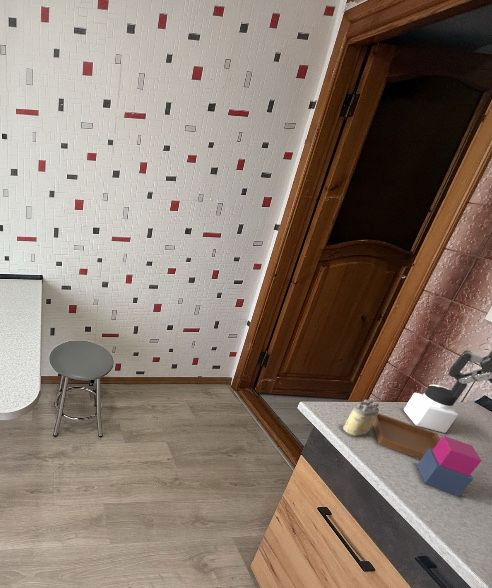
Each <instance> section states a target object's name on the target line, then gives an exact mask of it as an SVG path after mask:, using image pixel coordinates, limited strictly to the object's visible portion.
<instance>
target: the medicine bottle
mask: <svg viewBox="0 0 492 588" xmlns="http://www.w3.org/2000/svg"><path fill="white" fill-rule="evenodd" d="M451 390H452V389H450V388H448V387H445V386H443V385H439V384H435V383H434V384H429V385H428V386H427V388H426V389H425V391H424V393H418V392H414V393H413V394H412V395H411V397H410V398H409V400H408V401H407V403H406V405H405V406H404V408H403V411H404V412H405V414H406V415H407V416H408V418H409V419H410V420H411V421H412V423H413V424H414V426H417V427H420V428H423V429H426V430H430V431H431V430H432V431H434V432H439V433H443V434H445V433H447V432H448V430H449V429H450V428H451V426H452V425H453V423H454V422H455V420H456V419H457V418H458V416H459V413H457V411H455V410H454V409H453V406H454V405H455V403H456V402H457V400H458V399H457V398H454V397H453V394H451Z"/></svg>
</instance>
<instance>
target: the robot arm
mask: <svg viewBox="0 0 492 588" xmlns="http://www.w3.org/2000/svg"><path fill="white" fill-rule="evenodd" d="M474 363H479V365H480V367H481V368H480V369H475V370H473V371H470V372H466V373H462V372H461V371H462V370H464V368H465V367H466V365H473V364H474ZM448 376H449V377H451V378H454V379H455V380H456V382H455V383H454V385H453V386H452V388H451V389H450V390H451V394H453V397H454V398H457V400H458V399H459V398H460V396H461V395H462V393H463V392H464V391H465V390H466V388H467V386H468V384H470V383H474V382H475V383H478V382H483V381H488V382H489V383H490V384H492V350H491V351H490V352H489V353H488V355H486V356H484V357H483V356H479V355H477V354H474V353H473V352H472V351H471V350H469V349H468V350H466V349H465V350H464V351H463V352H462V353H461V354H460V356H459V357H458V358H457V359H456V361H455V362H454V363H453V365H452V366H451V367H450V368H449V372H448Z"/></svg>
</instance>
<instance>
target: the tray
mask: <svg viewBox="0 0 492 588" xmlns="http://www.w3.org/2000/svg"><path fill="white" fill-rule="evenodd" d="M372 427H373V430H374V433H375V436H376V440H377V442H378V445H379V446H384V447H386V448H387V449H388V448H389V449H391V450H393V451H395V452H399V453H401V454H404V455H407V456H409V457H412V458H415V459H418V460H419V461H420V460H421V459H422V457H423V456H424V454H425V453H426V451H427V450H428V449H429V448H430V449H432V450H433V449H434V447H435V446H436V445H437V443H438V442H439V440H440V439H441V438H440V436H439V435H438V433H436V432H435V431H431V430H429V429H426V428H423V427H419V426H416V425H415V424H414V425H413V424H411V423H408V422H405V421H402V420H399V419H397V418H393V417H391V416H387V415H385V414H381V413H379V412H378V415H377V417H376V419H375V420H374V422H373V424H372Z"/></svg>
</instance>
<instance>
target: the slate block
mask: <svg viewBox="0 0 492 588" xmlns="http://www.w3.org/2000/svg"><path fill="white" fill-rule="evenodd" d="M416 467H417V470H418V471H419V474H420V476H421V478H422V481H423V483H424V484H425V485H427V486H430V487H434V488H436V489H438V490H441V491H443V492H446V493H448V494H451V495H453V496H455V497H460V495H462V493H463V492H464V491H465V490H466V488H467V487H468V486H469V485H470V484H471V482H472V481H473V480H474V479H473V476H472V474H471V475H470V476H467V475H464V474H462V473H459V472H456V471H454V470H451V469H449V468H446V467H443V466H441V465H439V463H438V461H437V459H436V457H435V455H434V453H433V451H432V449H430V448H429V449H428V450H427V451H426V453H425V454H424V456H423V457H422V459H421V460H420V459H419V461H418V463H417V464H416Z"/></svg>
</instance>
